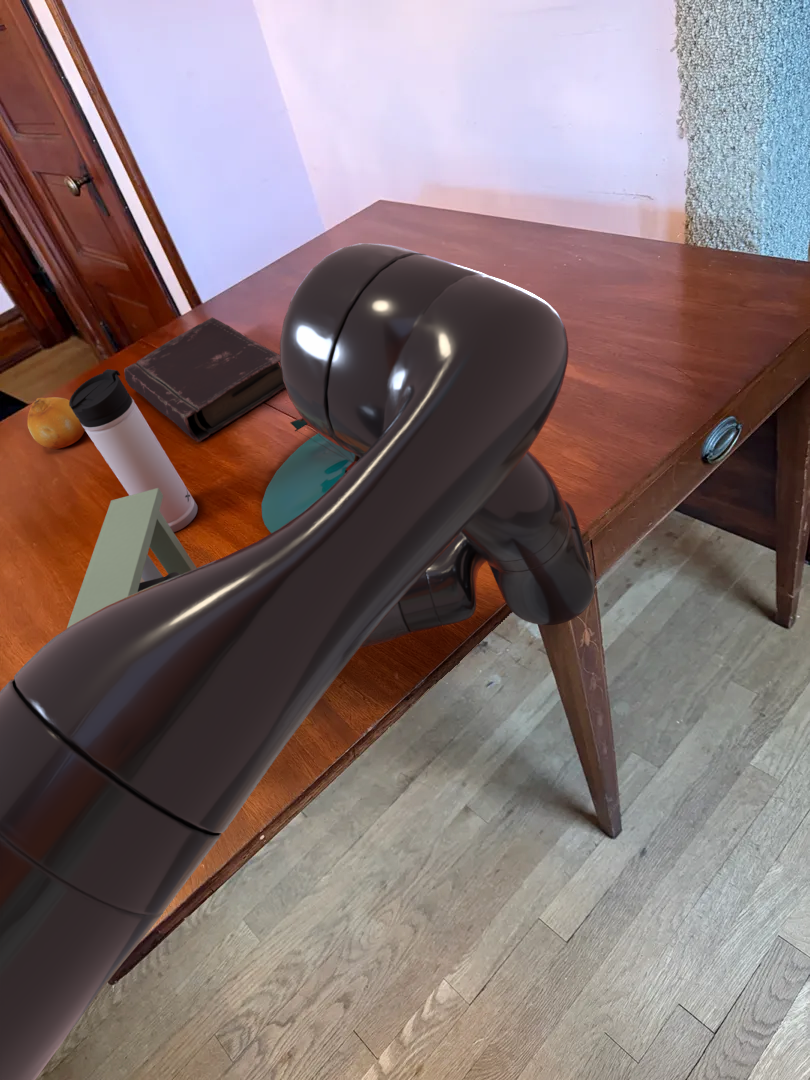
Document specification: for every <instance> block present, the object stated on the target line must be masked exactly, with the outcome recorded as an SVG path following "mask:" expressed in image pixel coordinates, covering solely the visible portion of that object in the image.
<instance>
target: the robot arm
mask: <svg viewBox="0 0 810 1080" xmlns="http://www.w3.org/2000/svg"><path fill="white" fill-rule="evenodd" d="M279 355H280V362H279V365H280V367H281V371H282V377H283V382H284V385H285V387H284V388H285V391H286V392H287V395H288V398H289V400H290V401H291V403H292V405H293V407H294V409H295V410H296V412H297V413H298V414H299V416H300V418H301V417H302V418H303V419H304V420H305V421H306V422H307V423H308V424H307V425H309V426H310V428H311V429H312V430H314V431H315V432H316V433H317V434H318V433H319V434H321V435H322V436H323V437H325V438H326V439H327V440H329V441H331V442H332V443H334V444H335V445H337V446H339V447H340V448H342V449H344V450H346V451H348V452H350V453H353V454H355V455H356V456H358V457H360V459H359V460H358V461H357V462H356V463H355V464H354V465H353V466H352V467H351V468H350V469H349V470H348V471H347V472H346V473H345V474H344V475H343V476H342V477H341V478H340V479H339V480H338V481H337V482H336V483H335V484H334V485H333V486H332V487H331V488H330V489H329V490H328V491H327V492H326V493H325V494H324V495H323V496H322V497H321V498H319V499H318V500H317V501H316V502H315V503H313V504H312V505H311V506H310V507H309V508H308V509H306V510H305V511H304V512H303V513H301V514H300V515H299V516H297V517H296V518H294V519H293V520H291V521H290V522H288V523H287V524H286V525H284V526H283V527H281V528H280V529H278V530H276V531H275V532H273V533H271V532H270V533H269V534H268V535H266V536H264V537H262V538H260V539H259V540H257V541H255V542H253V543H251V544H249V545H246V546H245V547H242V548H240V549H238V550H236V551H234V552H231V553H230V554H228V555H225V556H223V557H221V558H218V559H216V560H213V561H211V562H208V563H206V564H202V565H200V566H198V567H196V568H195V569H193V570H190V571H188V572H185V573H183V574H180V575H178V576H175V577H173V578H170V579H168V580H165V581H163V582H161V583H158V584H156V585H153V586H151V587H148V588H146V589H144V590H141V591H139V592H137V593H134V594H132V595H130V596H128V597H126V598H123V599H121V600H119V601H117V602H115V603H113V604H110V605H108V606H106V607H104V608H102V609H101V610H99V611H97V612H95V613H93V614H91V615H90V616H88V617H86V618H84V619H82V620H80V621H79V622H77V623H75V624H73V625H71V626H70V627H68V628H67V627H66V628H65V629H64V630H63V631H61V632H60V633H58V634H56V635H55V636H54V637H53V638H52V639H50V640H49V641H48V642H47V643H46V644H44V645H43V646H42V647H41V648H40V649H39V650H38V651H37V652H36V653H35V654H34V655H33V656H32V657H31V658H30V659H28V660H27V662H26V663H24V665H23V666H22V667H20V669H19V670H18V671H17V672H16V673H15V674H14V676H13V679H10V680H9V681H8V682H7V683H6V684H5V686H3V688H2V689H1V690H0V1080H37V1078H38V1077H39V1075H40V1074H41V1073H42V1071H43V1070H44V1068H45V1067H46V1066H47V1064H48V1063H49V1062H50V1061H51V1059H52V1058H53V1056H54V1055H55V1054H56V1052H57V1051H58V1050H59V1048H60V1047H61V1045H62V1044H63V1043H64V1041H65V1040H66V1038H67V1037H68V1036H69V1034H70V1033H71V1032H72V1030H73V1029H74V1028H75V1026H76V1025H77V1023H78V1022H79V1021H80V1019H81V1018H82V1016H84V1014H85V1013H86V1011H87V1010H88V1009H89V1007H90V1006H91V1005H92V1003H93V1002H94V1001H95V999H96V998H97V996H98V995H99V994H100V992H101V991H102V990H103V988H105V986H106V985H107V984H108V982H110V980H111V979H112V977H113V976H114V975H115V974H116V972H117V971H118V970H119V968H121V966H122V965H123V964H124V963H125V961H126V960H127V959H128V957H129V956H130V955H131V954H132V953H133V951H134V950H135V949H136V947H137V946H138V945H139V944H140V943H141V941H142V940H143V939H144V938H145V937H146V935H147V934H148V933H149V931H150V930H152V928H153V927H154V925H155V924H156V923H157V922H158V920H159V919H160V918H161V917H162V915H163V914H164V913H165V911H166V910H167V909H168V907H169V906H170V904H171V903H173V901H174V899H175V898H176V896H177V895H178V894H179V892H180V891H181V889H183V887H184V886H185V884H186V883H187V882H188V881H189V879H190V878H191V877H192V875H193V874H194V872H195V871H196V870H197V869H198V868H199V866H200V865H201V863H202V862H203V860H205V858H206V857H207V855H208V854H209V852H210V851H211V850H212V849H213V847H214V846H215V845H216V844H217V842H218V841H219V840H220V838H221V837H222V834H223V833H225V832H226V830H228V828H229V826H231V823H232V822H233V821H234V819H235V818H236V816H237V815H238V813H239V812H240V811H241V809H242V808H243V806H244V805H245V803H246V802H247V800H248V799H249V797H250V796H251V795H252V794H253V792H254V790H255V789H256V788H257V786H258V785H259V783H260V782H261V781H262V779H263V777H264V776H265V775H266V773H267V772H268V770H269V769H270V768H271V766H272V765H273V763H274V762H275V760H276V759H277V758H278V757H279V755H280V753H281V752H282V751H283V750H284V748H285V747H286V745H287V744H288V743H289V741H290V740H291V738H292V737H293V735H294V734H295V733H296V732H297V731H298V729H299V728H300V727H301V725H302V724H303V723H304V722H305V720H306V718H307V717H308V716H309V715H310V713H311V712H312V711H313V709H314V708H315V707H316V705H317V704H319V701H320V700H321V699H322V697H323V696H324V695H325V694H326V692H327V691H328V689H329V688H330V687H331V685H332V684H333V683H334V682H335V680H336V679H337V677H338V676H339V675H340V673H341V672H342V671H343V670H344V668H345V667H346V666H347V665H348V663H349V662H350V661H351V660H352V658H353V657H354V656H355V654H357V652H358V651H359V649H363V648H367V647H373V646H376V645H380V644H384V643H388V642H391V641H393V640H396V639H398V638H401V637H404V636H407V635H410V634H415V633H418V632H423V631H424V632H425V631H428V630H432V629H436V628H441V627H445V626H449V625H455V624H458V623H461V622H464V621H466V620H469V619H470V618H472V617H473V616H474V614H475V613H476V609H477V601H478V599H477V597H478V596H477V595H478V594H477V593H478V591H477V586H478V585H477V582H478V581H477V580H478V574H479V571H480V569H481V568H482V567H483V566H484V564H485V563H487V565H488V566H489V568H490V570H491V573H492V575H493V576H492V577H493V578H494V581H495V583H496V585H497V587H498V589H499V592H500V594H501V596H502V598H503V600H504V602H505V604H506V605H507V606H508V608H509V610H510V611H511V612H512V613H513V614H514V615H515V616H517V617H518V618H519V619H521V620H523V621H525V622H528V623H531V624H534V625H539V626H556V625H561V624H564V623H568V622H569V621H572V620H574V619H576V618H577V617H578V616H580V615H582V613H583V612H585V610H586V609H587V608H588V607H589V606H590V605H591V603H592V601H593V598H594V596H595V591H596V581H595V577H594V573H593V570H592V569H593V568H592V566H591V563H590V559H589V556H588V552H587V549H586V546H585V542H584V540H583V539H584V538H583V536H582V532H581V528H580V525H579V520H578V518H577V515H576V512H575V510H574V508H573V506H572V505H571V504H570V503H569V501H567V500H565V499H564V498H563V496H562V493H561V492H560V489H559V488H558V486H557V484H556V482H555V480H554V478H553V476H552V474H551V473H550V472H549V470H548V469H547V468H546V467H545V466H544V464H543V463H542V462H541V461H540V460H539V459H538V458H537V457H536V456H535V455H534V454H533V453H532V452H531V451H530V449H531V447H532V446H533V444H534V443H535V442H536V440H537V439H538V437H539V435H540V433H541V431H542V430H543V428H544V426H545V425H546V423H547V421H548V420H549V417H550V415H551V413H552V411H553V409H554V407H555V404H556V402H557V401H558V398H559V396H560V393H561V390H562V387H563V383H564V380H565V376H566V373H567V367H568V362H569V339H568V334H567V329H566V326H565V324H564V322H563V320H562V318H561V317H560V314H559V313H558V311H557V310H556V309H555V307H553V306H551V304H550V303H548V302H547V301H545V300H544V299H542V298H541V297H539V296H537V295H536V294H534V293H533V292H530V291H528V290H526V289H524V288H522V287H520V286H517V285H515V284H513V283H510V282H508V281H506V280H503V279H501V278H497V277H495V276H492V275H488V274H486V273H483V272H481V271H477V270H474V269H472V268H468V267H465V266H463V265H459V264H456V263H454V262H450V261H447V260H444V259H441V258H437V257H434V256H431V255H427V254H426V253H421V252H418V251H415V250H412V249H408V248H405V247H401V246H397V245H391V244H385V243H363V242H362V243H361V242H360V243H356V244H351V245H348V246H344V247H340V248H338V249H336V250H335V251H333V252H331V253H329V254H327V255H326V256H324V257H323V258H322V259H321V260H320V261H319V262H318V263H316V265H315V266H313V267H312V268H311V269H310V270H309V272H308V273H307V274H306V275H305V277H304V278H303V280H302V281H301V283H300V284H299V285H298V287H297V288H296V290H295V292H294V294H293V296H292V297H291V300H290V302H289V305H288V308H287V311H286V313H285V316H284V318H283V322H282V328H281V334H280V338H279Z"/></svg>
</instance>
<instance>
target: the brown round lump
mask: <svg viewBox="0 0 810 1080" xmlns="http://www.w3.org/2000/svg"><path fill="white" fill-rule="evenodd" d="M69 402H70V399H67V398H64V397H57V396H52V397H37V398H36V399H35V401H33V403H32V404H31V405H30V409H29V411H28V414H27V417H26V419H27V420H26V421H27V423H26V424H27V430H28V431H29V433H30V435H31V437H32V438H33V440H34V441H35V442H36V443H37V444H38V445H41V446H42V447H44V448H46V449H51V450H52V449H53V450H59V449H63V448H67V447H69V446H71V445H74V444H75V443H77V442H78V441H79V440H80V439H81V438H82V437H83V435H84V433H85V432H86V431H85V429H84V428H83V426H82V425H81V423H80V421H79V419H78V418H77V417H76V415H75V414H74V412H73V410H72V409H71V407H70V406H69Z"/></svg>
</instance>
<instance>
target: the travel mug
mask: <svg viewBox="0 0 810 1080" xmlns="http://www.w3.org/2000/svg"><path fill="white" fill-rule="evenodd" d="M119 376H121V373H120V372H119V370H117V369H112V368H111V369H110V368H106V369H105V370H104V371H103V372H102V373H98V374H97V375H94V376H93V377H91V378H89V379H88V380H85V382H83V383H81V385H79V386H78V387H77V388H76V389H75V391H74V392H73V393H72V394H71V397H70V398H69V400H70V402H69V406H70V407H71V409H72V410H73V412H74V414H75V415H76V417H77V418H78V419H79V421H80V423H81V425H82V426H83V428H84V429H85V431H84V432H86V434H87V435H88V437H89V438H90V440H91V441H92V443H93V444H94V446H95V447H96V449H97V451H98V452H99V453H100V455H101V456H102V457H103V459H104V461H105V462H106V464H107V465H108V466H109V468H110V470H111V471H112V472H113V474H114V476H115V477H116V478H117V479H118V481H119V482H120V484H121V485H122V487H123V489H124V490H125V492H126V493H127V494H128V496H130V495H134V494H138V493H141V492H145V491H149V490H153V489H156V488H159V490H160V491H161V493H162V494H163V499H162V502H161V506H160V510H159V511H160V513H161V514H162V516H163V517H164V519H165V520H166V522H167V523H168V525H169V526H170V528H171V529H172V531H173V532H174V533H176V532H179V531H181V530H183V529H185V527H187V526H188V525H189V524H190V523H192V521H193V520H194V519H195V517H196V516H197V513H198V509H199V508H198V505H197V503H196V501H195V499H194V498H193V496H192V494H191V493H190V491H189V489H188V487H187V486H186V485H185V483H184V481H183V480H182V478H181V477H180V474H179V473H178V471H177V470H176V468H175V466H174V465H173V463H172V462H171V460H170V458H169V456H168V454H167V453H166V451H165V450H164V448H163V446H162V445H161V443H160V441H159V440H158V438H157V436H156V435H155V433H154V432H153V430H152V428H151V426H149V424H148V422H147V420H146V419H145V417H144V415H143V414H142V412H141V410H140V409H139V407H138V405H137V404H136V402H135V400H134V399H133V397H132V396H131V395H130V393H129V391H128V390H127V388H126V386H125V384H124V383H123V381H122V380H121V378H120V377H119Z"/></svg>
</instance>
